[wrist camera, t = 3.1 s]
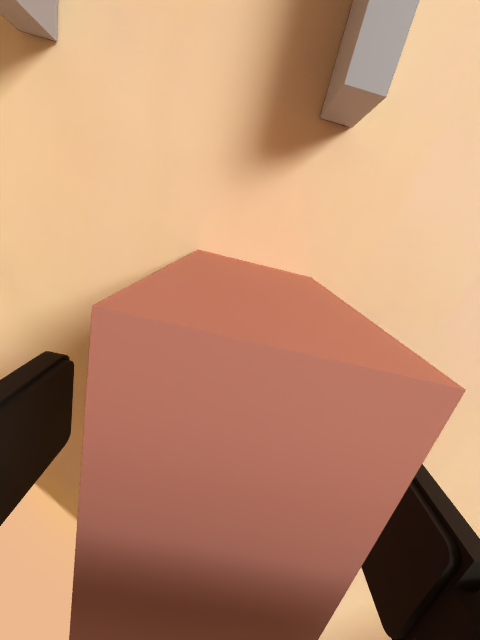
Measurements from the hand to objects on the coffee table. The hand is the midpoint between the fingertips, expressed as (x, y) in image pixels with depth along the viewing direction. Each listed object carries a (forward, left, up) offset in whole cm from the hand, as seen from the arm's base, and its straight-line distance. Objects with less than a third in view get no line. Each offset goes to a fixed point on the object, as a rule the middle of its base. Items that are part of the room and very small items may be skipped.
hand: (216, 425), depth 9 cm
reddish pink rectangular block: (0, 0, -2) cm, 2 cm away
